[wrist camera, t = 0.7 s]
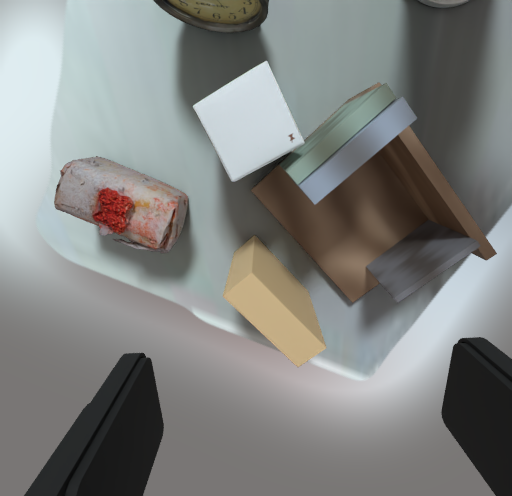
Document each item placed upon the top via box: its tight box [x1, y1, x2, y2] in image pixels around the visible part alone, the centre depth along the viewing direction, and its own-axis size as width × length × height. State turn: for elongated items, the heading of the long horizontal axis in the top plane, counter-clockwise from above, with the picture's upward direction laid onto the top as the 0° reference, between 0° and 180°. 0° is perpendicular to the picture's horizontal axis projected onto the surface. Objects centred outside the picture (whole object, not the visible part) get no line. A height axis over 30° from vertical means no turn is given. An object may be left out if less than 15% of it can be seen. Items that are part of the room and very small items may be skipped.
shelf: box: [251, 82, 497, 303], centre depth 32 cm, size 16×22×14 cm
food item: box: [54, 156, 188, 253], centre depth 35 cm, size 14×8×10 cm, turn 67°
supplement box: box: [193, 61, 305, 182], centre depth 30 cm, size 7×7×13 cm
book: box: [223, 235, 326, 367], centre depth 36 cm, size 4×12×13 cm, turn 42°
